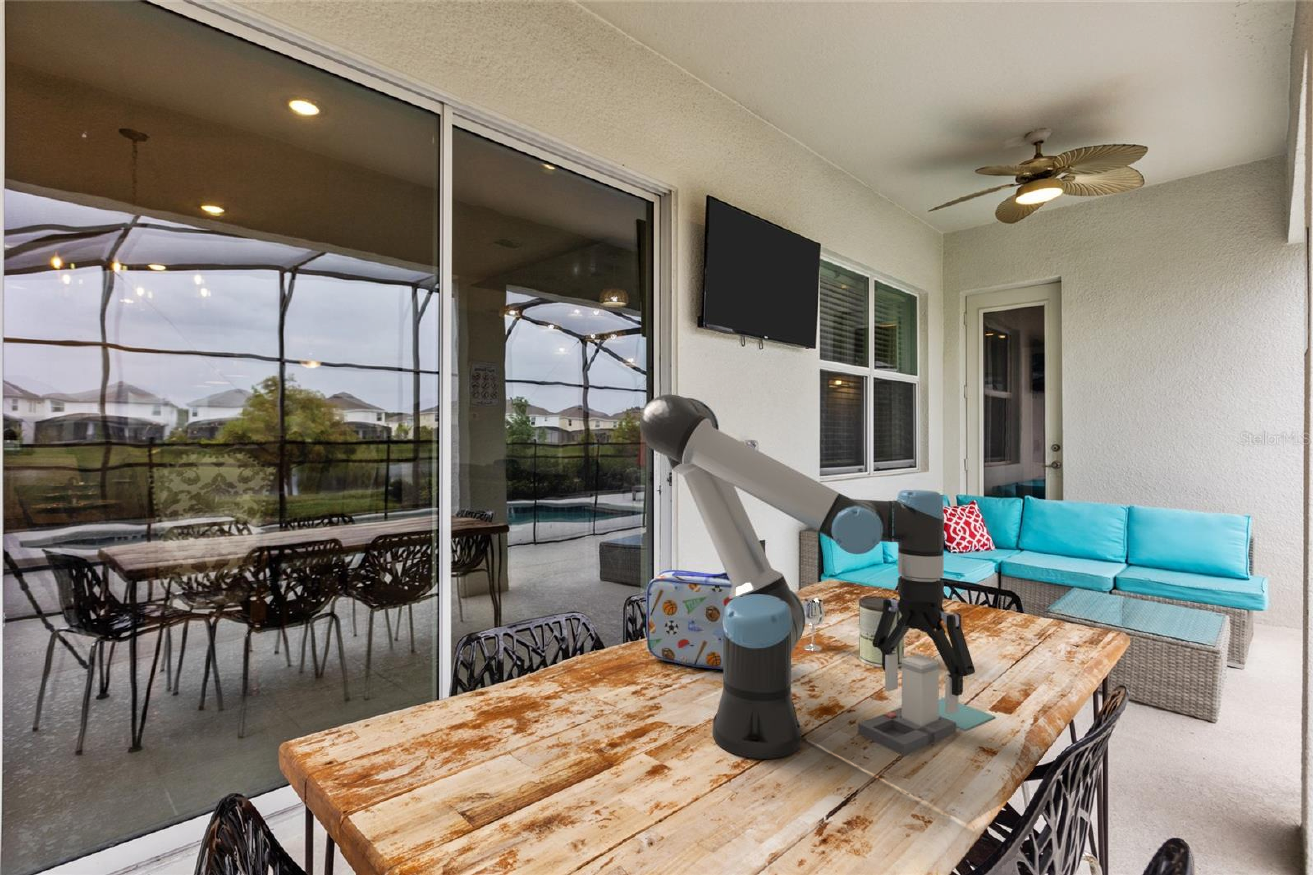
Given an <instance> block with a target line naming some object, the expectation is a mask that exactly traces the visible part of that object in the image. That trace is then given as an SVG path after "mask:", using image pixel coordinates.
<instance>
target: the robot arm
mask: <svg viewBox="0 0 1313 875" xmlns="http://www.w3.org/2000/svg"><path fill="white" fill-rule="evenodd" d="M719 428H720V427H719V422H718V419H717V416H716V414H715V413H714V411H713V410H712V408H710V406H708V405H706V404H705V403H704V401H701V400H699V399H696V398H690V397H683V396H680V395H678V394H671V393H670V394H663V395H659V396H656V397H654V398H653V399H652V400H651V401H649V402H648V403H647V404H646V406H645V407H644V408H643V410H642V413H641V415H640V419H639V430H640V434H641V437H642V439H643V440H644V442H645V444H646V445H647V446H648V447H649V448H650V449H652V450H653V451H655V452H657V453H659V454H662V455H663V456H665V457H666V458H667V460H668V462H669V465H670V468H671V469H672V471H673V473H674V472H675V473H677V474H679V475H681V476H683V478H684V480H685V483H686V486H687V487H688V490H689V492H690V495H691V497H692V498H693V501H694V503H695V506H696V507H697V510H698V512H699V514H700V516H701V519H702V521H703V523H704V525H705V526H704V527H706V528H705V529H706V530H707V533H708V534H709V537H710V539H711V542H712V544H713V546H714V548H715V551H716V552H717V555H718V557H719V560H720V562H721V565H722V566H723V568H724V570H725V572H726V573H727V576H728V578H729V580H730V582H731V585H732V588H731V591H730V594H729V599H730V602H729V603H728V604H727V605H726V607H725V611H724V618H723V630H724V645H723V675H722V676H723V677H722V678H723V679H722V681H723V682H722V684H723V686H722V693H721V696H720V700H719V704H718V708H717V711H716V714H715V715H714V717H713V722H712V738H713V740H714V741H715V743H716V744H717V745H718V746H719V747H721V748H722V749H724V750H725V751H727V752H729V753H732V754H733V755H737V756H740V757H744V758H745V757H746V758H750V759H760V760H761V759H762V760H768V759H769V760H770V759H780V758H784V757H787V756H790V755H791V754H794V753H795V752H797V751H798V750H799V748H801V745H802V727H801V724H800V722H799V720H798V716H797V711H796V708H795V705H794V702H793V701H794V700H793V697H792V653H793V651H794V649H795V647H796V645H797V644H798V643H799V641H800V640H801V637H802V636H803V633H804V630H805V628H806V627H805V626H806V623H805V611H804V607H803V605H802V604H803V602H802V600H801V599H800V598H799V596H798V595H797V594H796V592H794V591H792V590H791V589H790V586H789V585H788V582H787V580H786V578H785V577H784V574H783V573H782V572H781V571H778V570H775V569H773V567H772V566H771V564H770V561H769V559H768V557H767V555H766V553H765V551H764V548H763V546H762V544H761V542H760V540H759V538H758V536H757V533H756V531H755V529H754V527H753V524H752V522H751V520H750V517H749V516H748V514H747V511H746V509H745V507H744V504H743V503H742V501H741V498H740V496H739V494H738V492H737V490H736V488H737V489H739V490H741V491H743V492H744V493H747V494H749V495H750V496H752V497H754V498H756V499H758V500H759V501H760V502H763V503H764V504H767V505H769V506H771V507H773V508H774V509H776V510H778V511H779V512H782V513H784V514H786V515H787V516H789V517H791V518H792V519H795V520H796V521H798V522H800V523H802V524H804V525H806V526H808V527H810V528H811V529H813V530H815V531H817V532H818V533H819V534H822V535H823V536H825V537H827V538H829V539H830V540H833V541H834V542H835V544H836V545H837V546H838V547H839V548H840V549H841V550H843V551H845V552H846V553H849V554H852V555H863V554H866V553H869V552H871V551H872V550H874V549H875V547H877V545H879V544H880V542H884V543H887V542H888V543H897V544H898V548H897V573H898V574H899V575H900V576H899V577H897V595H898V597H899V598H898V599H897V600H899V601H897V600H896V598H894V597H889V598H890V599H885V600H884V601H883V613H882V616H881V619H880V622H879V625H878V628H877V631H876V634H875V637H874V639H873V642H872V644H873V646H874V647H877V648H878V649H880V650H881V652H882V670H883V671H885V672H884V674H885V675H884V676H885V678H884V679H885V681H884V684H885V686H884V688H885V689H884V690H885V691H886V692H891V691H894V690H898V684H899V678H898V677H899V667H898V653H895V652H894V653H892V651H895V650H894V649H895V648H896V647H897V645H898V644H899V642H900V641H901V640H902V638H903V637H904V638H905V635H906V634H907V632H908V631H909V630H910V629H912V630H918V631H920V632H922V633H926V634H927V636H928V638H930V639H931V640H932V641H933V644H934V645H935V648H936V649H937V651H938V653H939V655H940V657H941V659H942V662H943V663H944V665H945V667H946V669H947V671H948V672H949V673H947V674H945V676H944V682H945V684H944V690H945V691H944V692H945V693H944V698H945V714H948V715H951V714H954V713H956V712H958V703H959V697H960V696H962V695H963V692H964V677H967V676H968V677H969V676H970V675H972V674H975V673H976V668H975V666H974V663H973V659H972V656H971V653H970V650H969V646H968V644H967V641H966V638H965V634H964V631H963V628H962V615H961V614H960V613H958V612H956V613H950V612H946V611H945V610H944V608H943V607H944V606H943V603H944V598H945V596H944V595H945V594H944V592H945V590H944V586H945V584H944V583H945V582H944V580H943V579H942V578H943V577H944V559H945V558H944V546H945V544H944V542H945V529H944V528H945V514H944V513H945V512H944V498H943V496H942V495H941V494H940V493H939V492H938V491H935V490H921V489H919V490H918V489H902V490H900V491H899V492H898V495H897V499H896V500H895V499H894V500H875V499H874V500H873V499H858V498H857V499H856V498H850V497H848V496H846V495H844V494H841V493H840V492H838V491H836V490H835V489H833V488H830V487H829V486H827V485H825V484H823V483H821V482H819V481H817V480H815V479H813V478H811V477H809V476H808V475H805V474H804V473H801V472H800V471H798V470H796V469H794V468H792V467H790V466H788V465H786V464H784V463H783V462H780V461H779V460H776V459H774V458H773V457H771V456H769V455H768V454H766V453H763V452H762V451H759V450H757V449H756V448H753V447H751V446H749V445H748V444H746V443H743V442H742V441H740V440H738V439H737V438H734V437H732V435H731V436H730V435H728V434H727V433H725V432H723V431H721V430H720V429H719ZM898 609H899V611H900V613H901V615H902V617H901V618H900V619H899V621H898V622H897V626H896V627H895V629H894V630H893V631H892V633H891V634H890V636H889V633H890V630H891V627H892V624H893V621H894V618H895V616H896V612H897V610H898ZM942 621H944V622H943V624H944V626H946V630H945V628H944V626H943V624H942ZM946 632H947V634H948V636H947V635H946ZM888 636H889V637H888ZM948 637H949V639H948Z"/></svg>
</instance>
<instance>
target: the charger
mask: <svg viewBox="0 0 1313 875" xmlns="http://www.w3.org/2000/svg"><path fill="white" fill-rule="evenodd" d="M900 668H901V708H902V718H903V719H905V720H908V721H910V722H912V723H915V724H917V725H919V726H922V727H923V726H926V725H928V724H931V723H933V722H936V721H938V720H939V699H940V694H939V693H940V674H939V673H940V661H939V660H938V659H935V658H931V657H929V656H925V655H922V654H915V655H912V656H911V655H910V656H908V657H904V659H902V662H901V667H900Z"/></svg>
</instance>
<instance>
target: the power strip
mask: <svg viewBox="0 0 1313 875" xmlns="http://www.w3.org/2000/svg"><path fill="white" fill-rule="evenodd" d="M857 734H859V736H862V737H864V738H866V739H868V740H870V741H872V742H874V743H877V744H879V745H881V746H883V747H885V748H887V749H889V750H892V751H893V752H895V753H898V754H900V755H902V756H906V755H908V754H912V753H913V752H916V751H919V750H920V749H922V748H925V747H927V746H930V745H932V744H934V743H936V742H939V741H941V740H942V739H945V738H948V737H949V736H952V735H954V734H957V727H956V722H953V721H951V720H948V719H946V718H943V717H941V716H939V720H938V721H936V722H933V723H931V724H928V725H926V726H923V727H922V726H919V725H917V724H915V723H912V722H910V721H908V720H905V719H903V718H902V707H899V708H897V709H896V708H895V709H893V710H891V711H888V712H885V713H882V714H881V715H878V716H874V717H872V718H869V719H866V720H864V721H861V722H859V723H858V724H857Z"/></svg>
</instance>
